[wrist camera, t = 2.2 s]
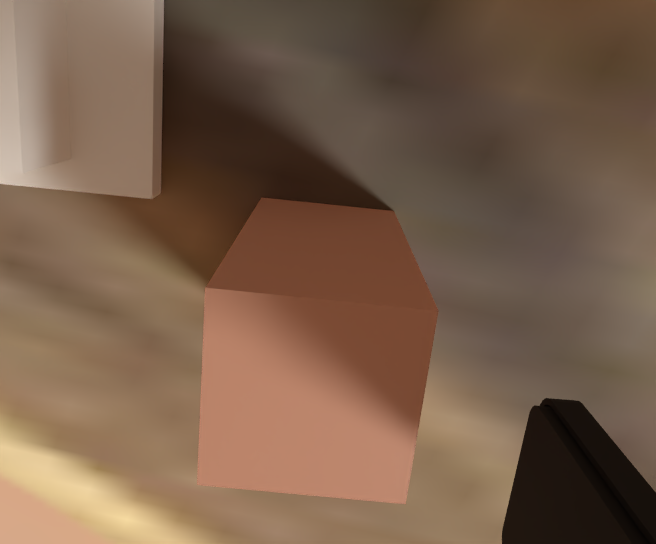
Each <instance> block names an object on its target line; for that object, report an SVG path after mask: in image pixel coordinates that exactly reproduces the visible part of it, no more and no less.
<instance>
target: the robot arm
mask: <svg viewBox="0 0 656 544" xmlns="http://www.w3.org/2000/svg"><path fill="white" fill-rule="evenodd" d="M502 544H656V492H655V491H654V490H653V489H652V488H651V486H650V485H649V484H648V483H647V482H646V480H645V479H644V478H643V477H642V475H641V474H640V473H639V472H638V471H637V469H636V468H635V467H634V466H633V465H632V463H631V462H630V461H629V460H628V459H627V457H626V456H625V455H624V454H623V452H622V451H621V450H620V449H619V448H618V446H617V445H616V444H615V443H614V442H613V440H612V439H611V438H610V437H609V436H608V434H607V433H606V432H605V431H604V429H603V428H602V427H601V426H600V425H599V423H598V422H597V421H596V420H595V419H594V417H593V416H592V415H591V414H590V412H589V411H588V410H587V409H586V408H585V406H584V405H583V404H582V403H581V402H579V401H574V400H562V399H549V398H546V399H544V400H543V401H542V403H541V404H540V406H533V407H532V409H531V411H530V414H529V418H528V422H527V426H526V431H525V435H524V439H523V444H522V448H521V452H520V456H519V461H518V465H517V469H516V474H515V478H514V482H513V487H512V491H511V495H510V500H509V504H508V508H507V513H506V517H505V521H504V526H503V531H502Z"/></svg>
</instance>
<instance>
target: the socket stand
mask: <svg viewBox="0 0 656 544" xmlns="http://www.w3.org/2000/svg"><path fill="white" fill-rule="evenodd" d="M163 35H164V0H0V184H8V185H18V186H28V187H38V188H47V189H57V190H67V191H77V192H87V193H96V194H106V195H116V196H126V197H136V198H145V199H153V198H155V197H156V196H158V195H159V194H161V158H162V96H163Z"/></svg>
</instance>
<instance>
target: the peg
mask: <svg viewBox="0 0 656 544" xmlns="http://www.w3.org/2000/svg"><path fill="white" fill-rule="evenodd" d="M437 316H438V309H437V307H436V304H435V302H434V300H433V298H432V295H431V293H430V291H429V289H428V286H427V284H426V282H425V280H424V277H423V275H422V273H421V271H420V269H419V266H418V264H417V262H416V260H415V257H414V255H413V253H412V251H411V248H410V246H409V244H408V242H407V239H406V237H405V235H404V233H403V230H402V228H401V226H400V224H399V222H398V219H397V217H396V215H395V213H394V211H389V210H379V209H369V208H360V207H350V206H340V205H330V204H321V203H311V202H301V201H291V200H282V199H272V198H262V197H261V199H260V201H259V202H258V204H257V205H256V207H255V209H254V210H253V212H252V213H251V215H250V217H249V218H248V220H247V221H246V223H245V225H244V226H243V228H242V229H241V231H240V233H239V234H238V236H237V238H236V239H235V241H234V242H233V244H232V246H231V247H230V249H229V250H228V252H227V254H226V255H225V257H224V258H223V260H222V262H221V263H220V265H219V266H218V268H217V270H216V271H215V273H214V275H213V276H212V278H211V279H210V281H209V283H208V284H207V286H206V287H205V307H204V332H203V356H202V380H201V404H200V429H199V453H198V477H197V485H204V486H215V487H226V488H237V489H248V490H258V491H269V492H280V493H291V494H302V495H312V496H323V497H334V498H345V499H356V500H366V501H377V502H388V503H399V504H406V499H407V493H408V487H409V481H410V475H411V469H412V463H413V457H414V451H415V446H416V440H417V434H418V428H419V422H420V416H421V410H422V404H423V398H424V393H425V387H426V381H427V375H428V369H429V363H430V357H431V351H432V346H433V340H434V334H435V328H436V322H437Z"/></svg>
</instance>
